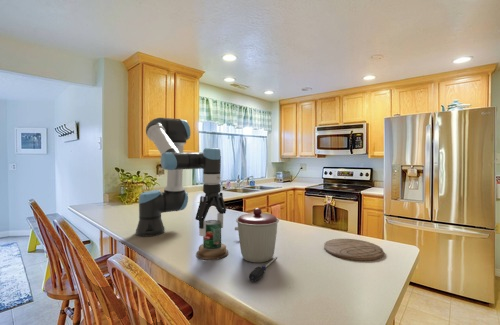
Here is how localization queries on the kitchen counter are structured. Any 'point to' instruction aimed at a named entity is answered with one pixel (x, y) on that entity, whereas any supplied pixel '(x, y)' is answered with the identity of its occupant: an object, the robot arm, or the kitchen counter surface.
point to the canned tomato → (212, 235)
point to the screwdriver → (258, 272)
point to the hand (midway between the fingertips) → (211, 231)
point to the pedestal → (212, 253)
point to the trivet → (353, 249)
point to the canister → (257, 235)
